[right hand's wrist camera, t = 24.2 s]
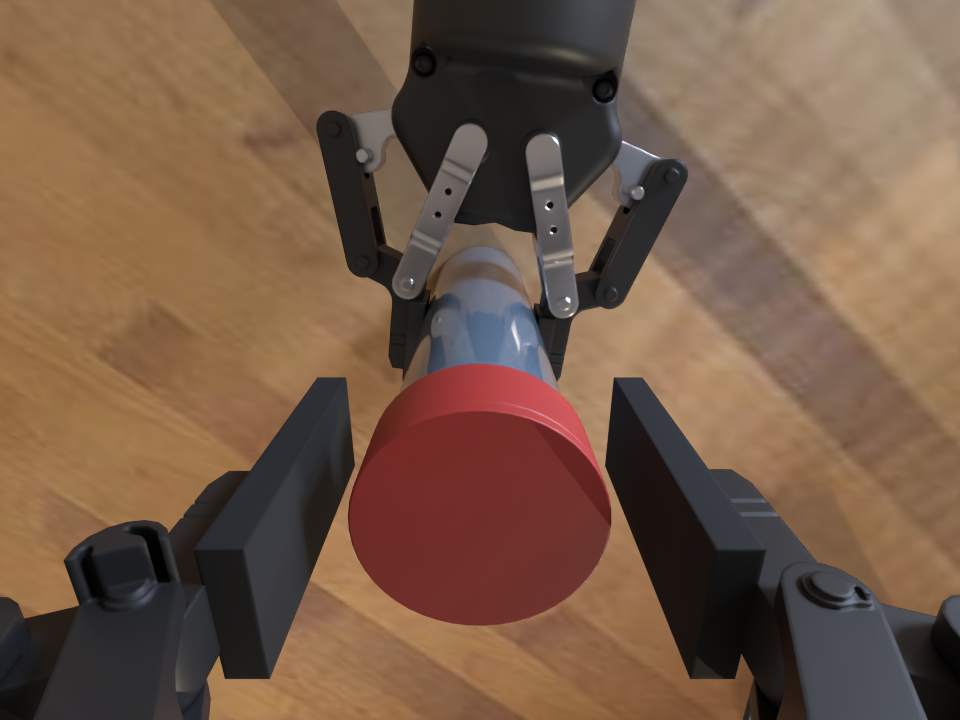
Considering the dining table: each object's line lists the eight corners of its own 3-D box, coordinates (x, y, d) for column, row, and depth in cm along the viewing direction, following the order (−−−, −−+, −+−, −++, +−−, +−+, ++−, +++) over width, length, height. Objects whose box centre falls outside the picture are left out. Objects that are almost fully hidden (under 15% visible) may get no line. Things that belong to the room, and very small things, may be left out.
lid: (496, 316, 11) (500, 354, 9) (632, 476, 13) (662, 542, 11) (324, 450, 12) (292, 512, 10) (466, 583, 14) (463, 662, 12)
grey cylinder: (457, 231, 27) (419, 365, 10) (538, 268, 28) (630, 453, 11) (423, 310, 29) (339, 543, 12) (500, 343, 30) (528, 610, 12)
